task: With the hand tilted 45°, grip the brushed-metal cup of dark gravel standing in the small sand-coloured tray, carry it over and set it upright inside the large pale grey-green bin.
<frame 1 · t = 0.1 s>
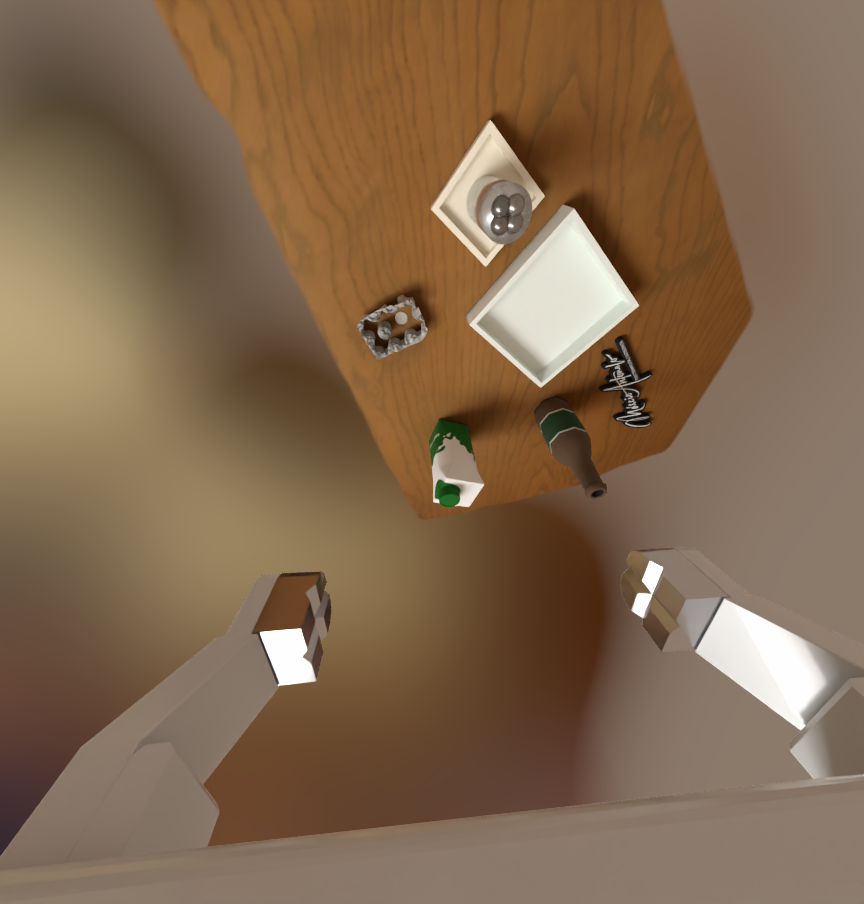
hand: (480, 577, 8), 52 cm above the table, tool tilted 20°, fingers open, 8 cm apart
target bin: (546, 306, 55), on the table
milk carton: (448, 432, 74), on the table
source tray: (485, 200, 44), on the table
nameplate: (625, 387, 69), on the table
egg carton: (393, 322, 56), on the table
beer bottle: (549, 409, 72), on the table
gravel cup: (486, 201, 44), point 1 cm above the table, touching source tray
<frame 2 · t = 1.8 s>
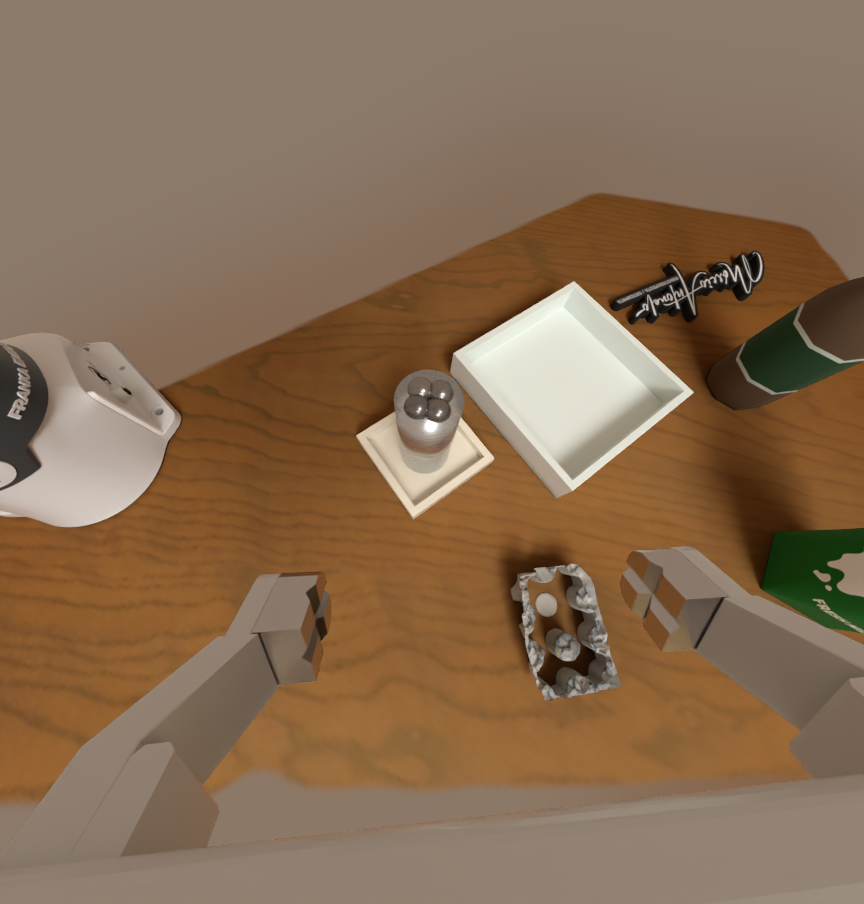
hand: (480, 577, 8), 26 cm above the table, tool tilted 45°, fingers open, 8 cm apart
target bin: (558, 390, 40), on the table
milk carton: (797, 576, 34), on the table
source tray: (424, 452, 37), on the table
nameplate: (688, 292, 48), on the table
egg carton: (551, 621, 32), on the table
beer bottle: (731, 387, 42), on the table
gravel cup: (424, 450, 36), point 1 cm above the table, touching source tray
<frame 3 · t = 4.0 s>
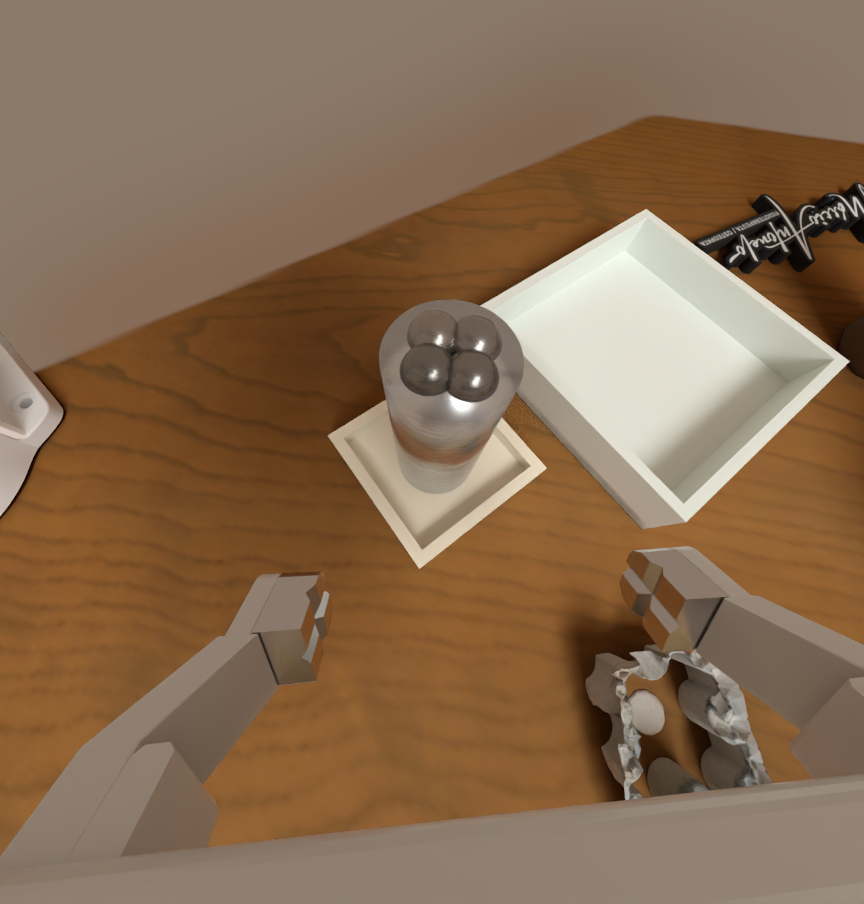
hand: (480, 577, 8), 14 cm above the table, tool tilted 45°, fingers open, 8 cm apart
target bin: (628, 365, 28), on the table
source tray: (435, 460, 24), on the table
nameplate: (788, 235, 35), on the table
egg carton: (653, 741, 19), on the table
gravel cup: (435, 457, 23), point 1 cm above the table, touching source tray
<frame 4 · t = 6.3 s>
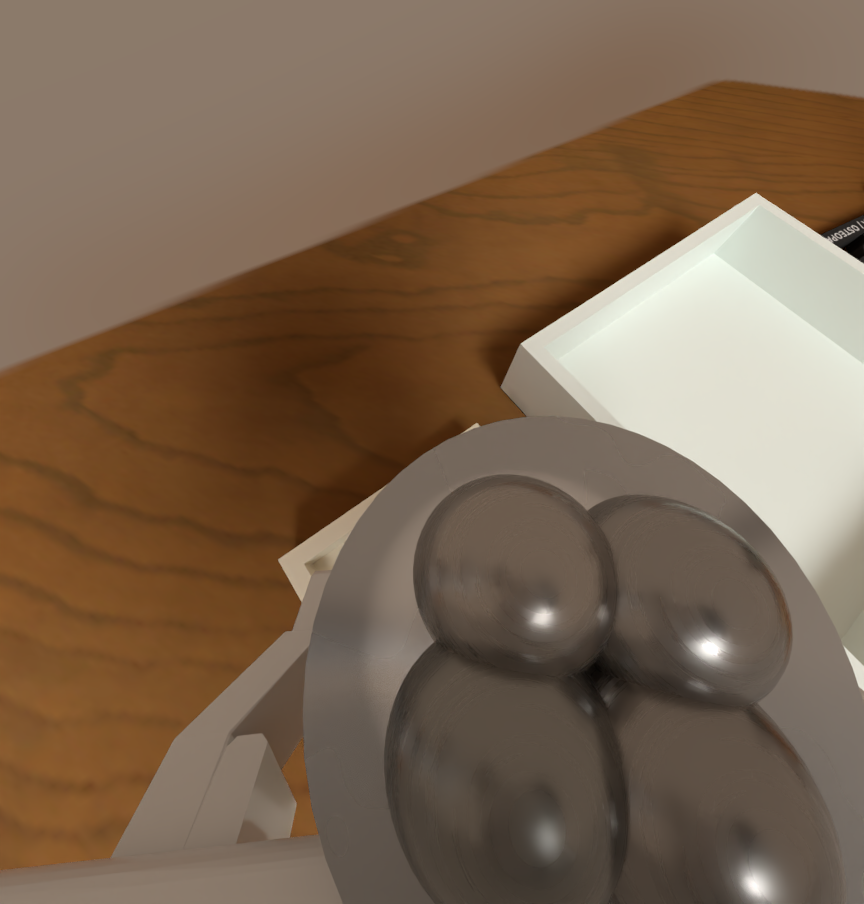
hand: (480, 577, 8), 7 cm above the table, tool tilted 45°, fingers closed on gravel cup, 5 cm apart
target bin: (736, 422, 19), on the table
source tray: (453, 585, 15), on the table
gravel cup: (455, 586, 14), point 1 cm above the table, touching gripper, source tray
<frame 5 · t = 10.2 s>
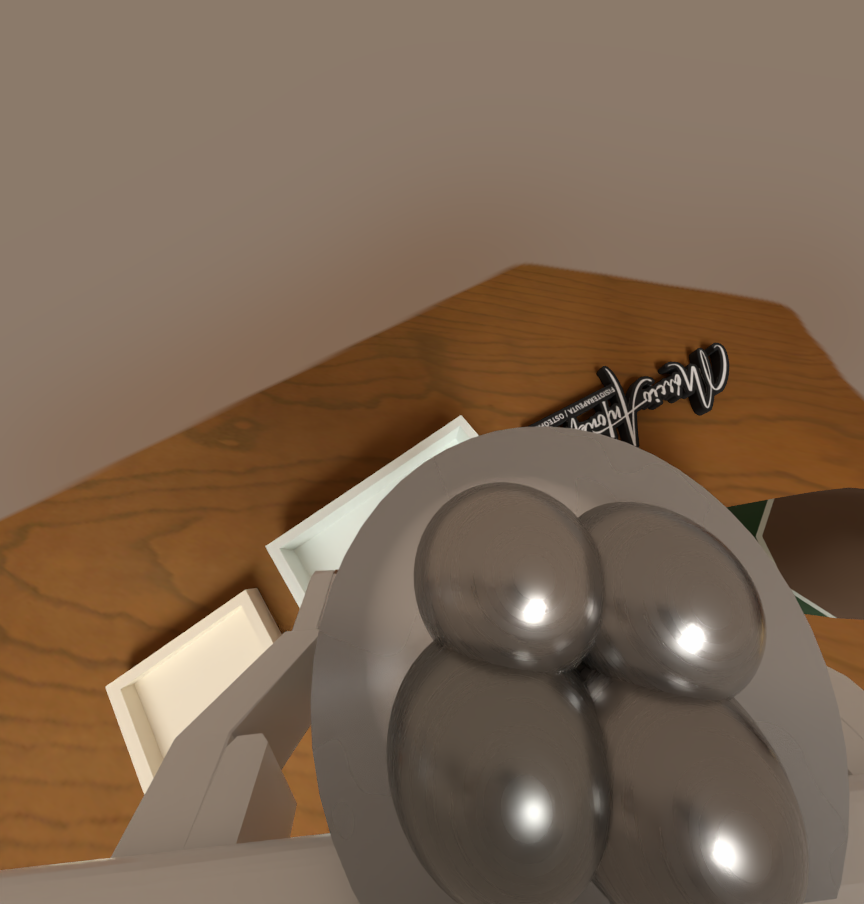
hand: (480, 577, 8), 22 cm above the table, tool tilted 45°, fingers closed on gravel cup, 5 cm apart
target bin: (437, 572, 29), on the table
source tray: (224, 693, 25), on the table
nameplate: (630, 403, 36), on the table
beer bottle: (683, 555, 30), on the table
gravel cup: (455, 587, 15), point 15 cm above the table, touching gripper
when the fingers open (9 cm above the table, at t = 13.8 s): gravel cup drops 1 cm, resting on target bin.
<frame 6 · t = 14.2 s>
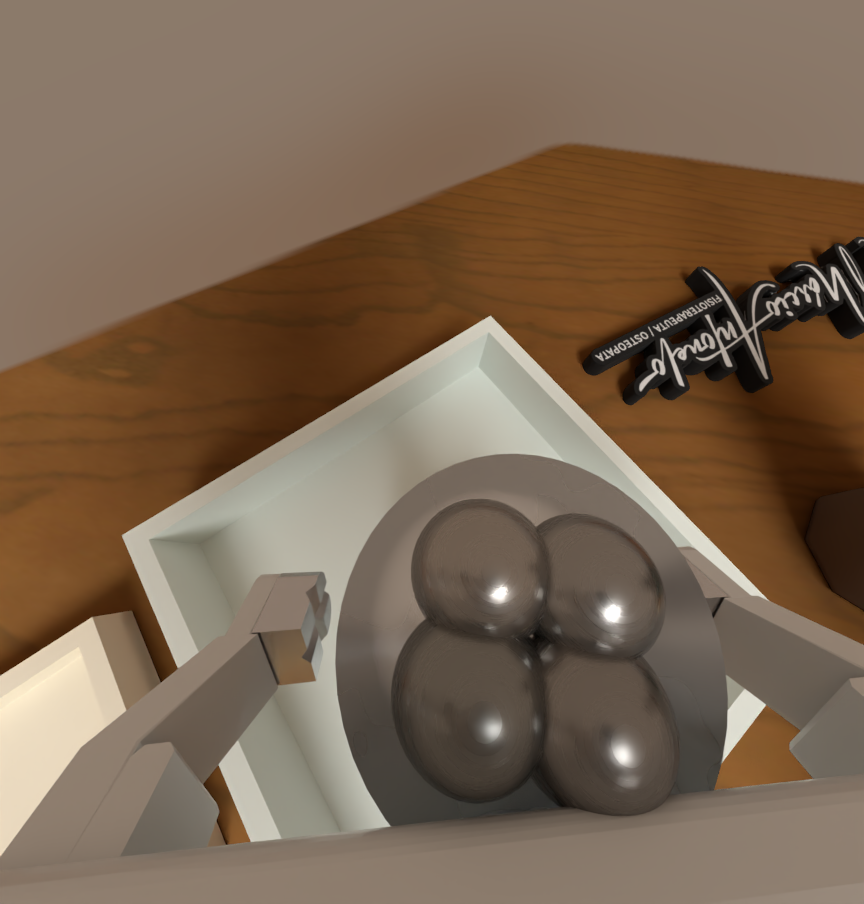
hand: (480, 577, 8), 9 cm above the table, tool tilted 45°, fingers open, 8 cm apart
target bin: (451, 583, 17), on the table
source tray: (43, 818, 13), on the table
nameplate: (738, 324, 24), on the table
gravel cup: (451, 585, 16), point 1 cm above the table, touching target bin
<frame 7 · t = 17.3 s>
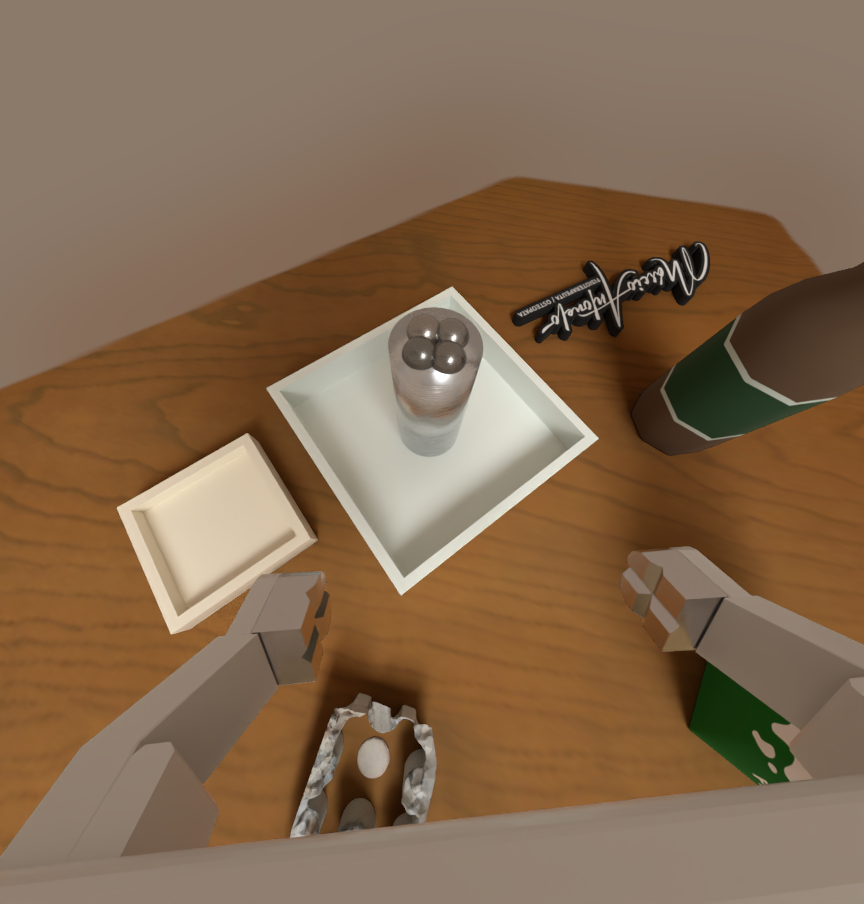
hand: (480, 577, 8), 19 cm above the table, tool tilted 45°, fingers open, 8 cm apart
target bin: (429, 432, 30), on the table
milk carton: (743, 706, 24), on the table
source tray: (227, 525, 27), on the table
nameplate: (615, 297, 38), on the table
egg carton: (369, 784, 22), on the table
beer bottle: (665, 423, 32), on the table
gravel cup: (428, 429, 29), point 1 cm above the table, touching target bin
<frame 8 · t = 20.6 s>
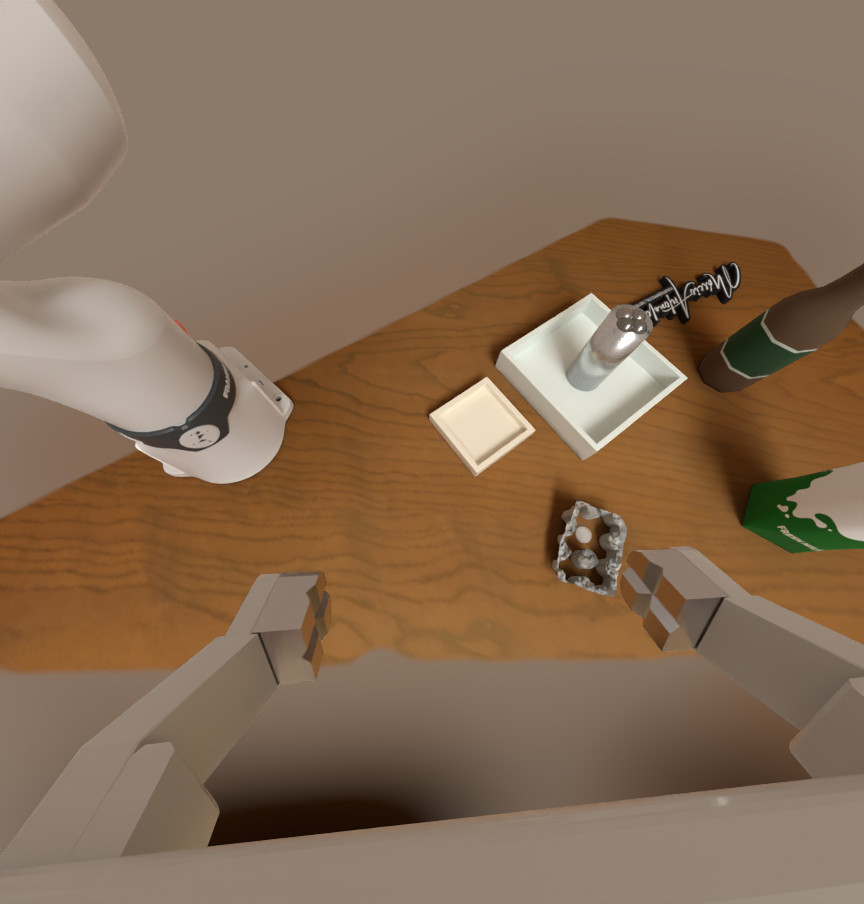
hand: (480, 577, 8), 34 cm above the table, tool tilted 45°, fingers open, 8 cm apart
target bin: (581, 379, 51), on the table
milk carton: (769, 517, 45), on the table
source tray: (479, 427, 48), on the table
nameplate: (680, 299, 59), on the table
egg carton: (581, 547, 43), on the table
beer bottle: (718, 375, 53), on the table
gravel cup: (583, 376, 50), point 1 cm above the table, touching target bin
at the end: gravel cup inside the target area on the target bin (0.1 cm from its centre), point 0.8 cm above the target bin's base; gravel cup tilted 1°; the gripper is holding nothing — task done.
